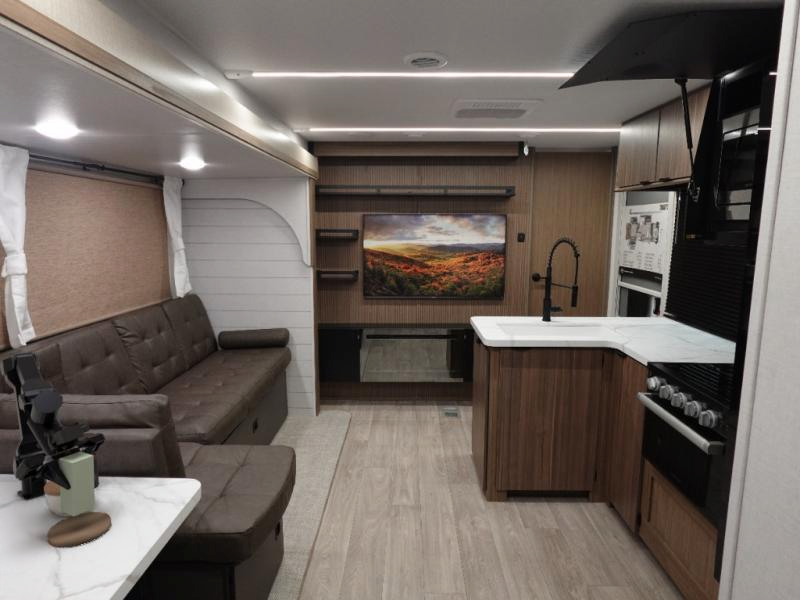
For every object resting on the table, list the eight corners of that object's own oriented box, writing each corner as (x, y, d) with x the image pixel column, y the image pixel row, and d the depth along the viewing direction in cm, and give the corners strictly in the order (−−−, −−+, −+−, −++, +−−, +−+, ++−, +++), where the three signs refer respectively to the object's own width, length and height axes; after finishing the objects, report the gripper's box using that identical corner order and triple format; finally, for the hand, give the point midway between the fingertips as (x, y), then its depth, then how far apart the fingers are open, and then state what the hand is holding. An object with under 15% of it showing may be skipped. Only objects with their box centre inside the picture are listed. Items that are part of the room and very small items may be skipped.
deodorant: (103, 484, 145) (100, 435, 144) (83, 494, 140) (79, 442, 138) (90, 480, 148) (87, 431, 146) (69, 489, 142) (66, 438, 141)
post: (61, 511, 120) (59, 458, 118) (81, 502, 124) (80, 451, 123) (74, 516, 118) (72, 463, 116) (94, 507, 122) (93, 455, 121)
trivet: (38, 534, 120) (38, 529, 120) (96, 511, 131) (96, 506, 130) (61, 554, 113) (61, 548, 112) (121, 528, 123) (120, 522, 123)
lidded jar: (71, 523, 125) (68, 487, 124) (35, 518, 127) (32, 483, 126) (104, 502, 136) (102, 468, 135) (70, 497, 138) (68, 465, 137)
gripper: (19, 425, 112) (53, 482, 108) (99, 401, 128) (131, 450, 125) (1, 452, 116) (33, 508, 112) (81, 426, 133) (111, 474, 129)
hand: (80, 483), depth 120 cm, fingers closed on post, 5 cm apart
